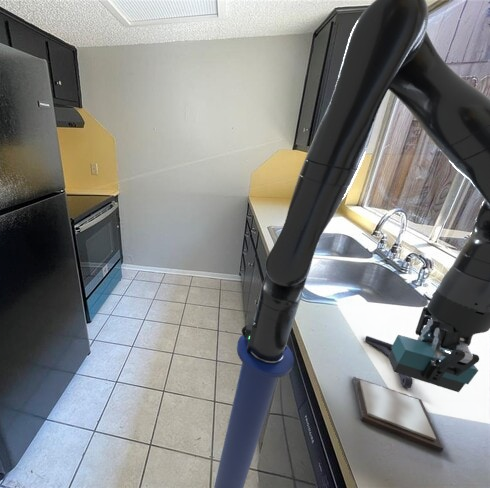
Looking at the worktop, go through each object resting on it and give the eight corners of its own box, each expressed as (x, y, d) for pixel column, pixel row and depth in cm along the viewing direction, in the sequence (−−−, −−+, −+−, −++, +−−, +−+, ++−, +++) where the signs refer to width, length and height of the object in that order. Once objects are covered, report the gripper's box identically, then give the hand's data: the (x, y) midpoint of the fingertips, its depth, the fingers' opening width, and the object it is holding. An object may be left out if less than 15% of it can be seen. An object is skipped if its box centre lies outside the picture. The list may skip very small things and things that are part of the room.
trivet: (360, 420, 54) (363, 415, 54) (352, 379, 64) (354, 374, 63) (441, 452, 50) (445, 447, 49) (418, 403, 59) (422, 397, 58)
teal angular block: (392, 372, 50) (405, 349, 48) (386, 356, 54) (397, 334, 52) (461, 394, 47) (478, 370, 44) (448, 375, 50) (464, 352, 48)
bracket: (368, 374, 65) (372, 366, 64) (364, 338, 77) (368, 331, 76) (446, 406, 58) (452, 398, 57) (428, 361, 70) (433, 354, 69)
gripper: (422, 271, 50) (388, 338, 57) (461, 314, 38) (412, 391, 45) (474, 281, 47) (432, 350, 54) (534, 331, 35) (469, 411, 42)
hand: (423, 369), depth 50 cm, fingers closed on teal angular block, 4 cm apart
